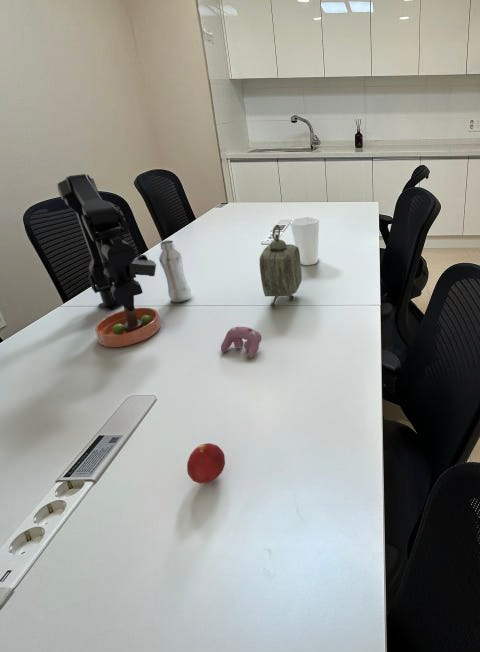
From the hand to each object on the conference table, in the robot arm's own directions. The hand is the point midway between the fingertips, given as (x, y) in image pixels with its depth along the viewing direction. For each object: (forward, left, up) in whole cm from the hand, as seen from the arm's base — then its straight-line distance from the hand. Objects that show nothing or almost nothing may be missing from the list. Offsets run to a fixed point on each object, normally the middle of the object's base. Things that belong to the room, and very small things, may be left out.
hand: (130, 308), depth 105 cm
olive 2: (-2, +4, -6) cm, 7 cm away
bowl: (-3, 0, -8) cm, 9 cm away
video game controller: (+32, +7, -8) cm, 34 cm away
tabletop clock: (+25, +34, -8) cm, 43 cm away
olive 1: (-4, -3, -6) cm, 8 cm away
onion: (+54, -24, -8) cm, 60 cm away
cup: (+13, +64, -8) cm, 66 cm away
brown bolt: (-1, 0, -7) cm, 7 cm away
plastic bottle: (-7, +20, -8) cm, 22 cm away
